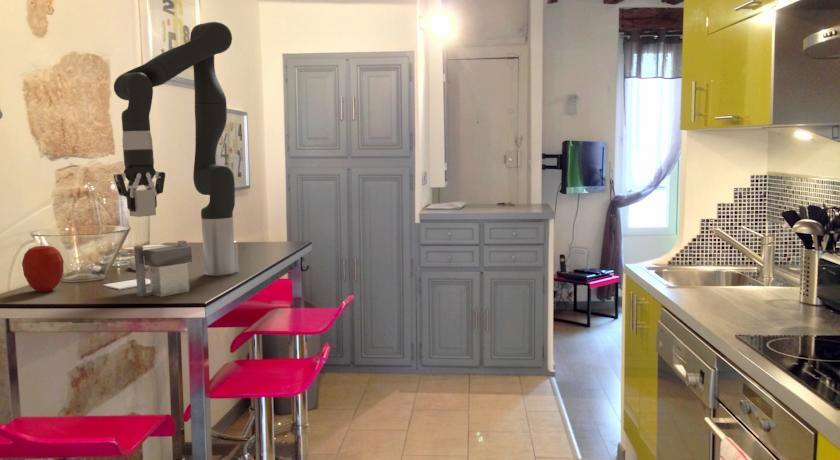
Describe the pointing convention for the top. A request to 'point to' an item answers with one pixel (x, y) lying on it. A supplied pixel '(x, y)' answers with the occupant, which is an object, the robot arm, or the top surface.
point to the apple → (43, 268)
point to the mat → (126, 284)
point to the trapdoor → (163, 254)
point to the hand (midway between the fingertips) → (142, 210)
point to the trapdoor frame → (161, 276)
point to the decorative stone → (132, 265)
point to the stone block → (144, 203)
